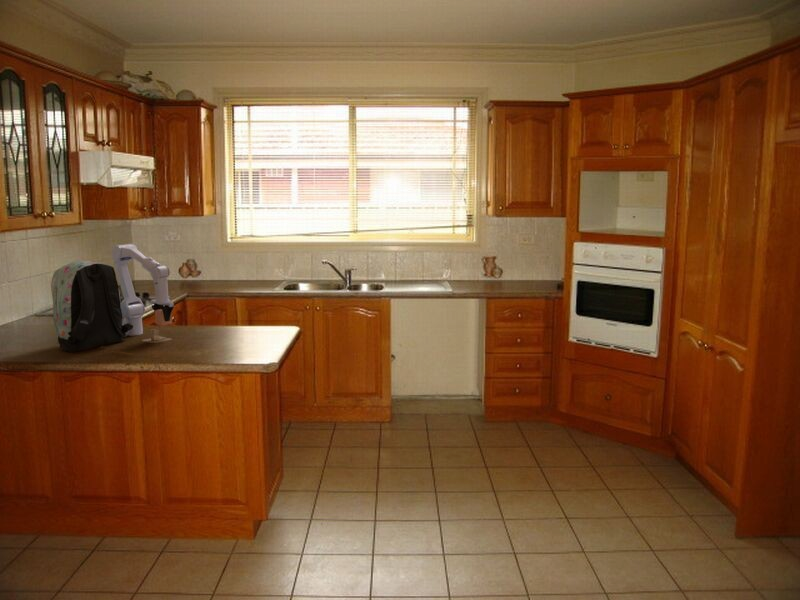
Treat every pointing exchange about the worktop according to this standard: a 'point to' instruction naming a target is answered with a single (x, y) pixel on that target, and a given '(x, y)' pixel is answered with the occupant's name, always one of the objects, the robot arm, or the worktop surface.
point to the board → (157, 340)
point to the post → (154, 334)
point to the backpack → (87, 306)
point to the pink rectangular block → (161, 318)
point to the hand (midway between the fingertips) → (163, 320)
